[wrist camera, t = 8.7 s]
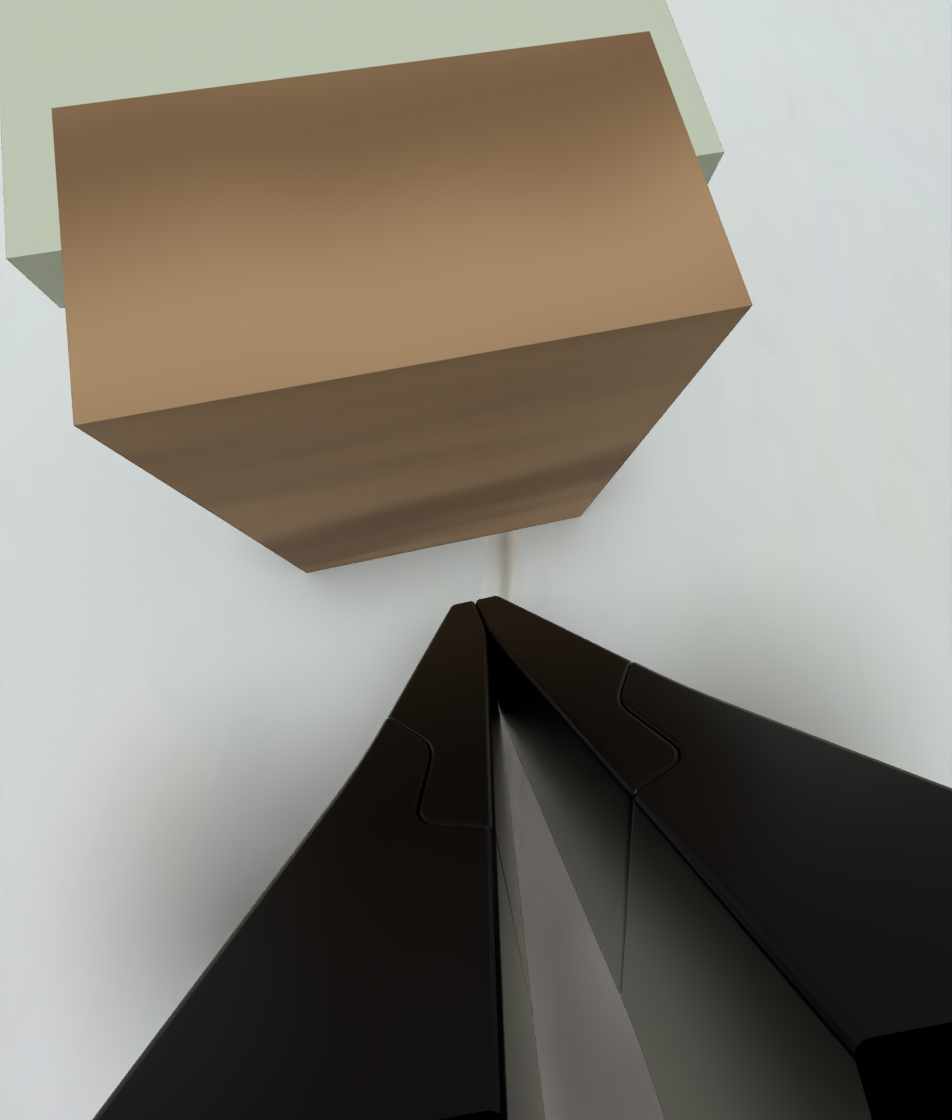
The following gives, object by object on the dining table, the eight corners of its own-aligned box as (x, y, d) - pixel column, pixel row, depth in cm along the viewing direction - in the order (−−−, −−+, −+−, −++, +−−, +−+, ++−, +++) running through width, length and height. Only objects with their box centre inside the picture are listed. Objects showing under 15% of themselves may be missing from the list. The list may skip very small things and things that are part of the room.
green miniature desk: (631, 331, 18) (724, 151, 12) (174, 411, 17) (6, 258, 11) (568, 132, 20) (620, -117, 14) (150, 191, 19) (-7, -53, 12)
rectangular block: (580, 516, 17) (751, 305, 7) (306, 572, 16) (73, 424, 6) (492, 193, 19) (528, -291, 10) (252, 230, 19) (26, -255, 9)
